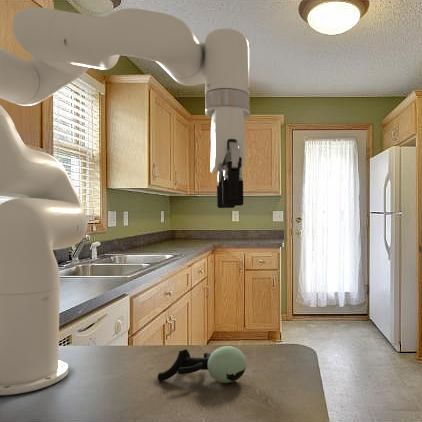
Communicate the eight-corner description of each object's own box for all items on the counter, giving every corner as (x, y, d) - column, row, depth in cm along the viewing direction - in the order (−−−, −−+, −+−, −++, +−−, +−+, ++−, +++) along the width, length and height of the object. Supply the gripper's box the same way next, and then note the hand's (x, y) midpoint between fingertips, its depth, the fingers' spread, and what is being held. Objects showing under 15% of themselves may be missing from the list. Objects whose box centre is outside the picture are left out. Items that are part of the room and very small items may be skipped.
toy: (153, 389, 65) (236, 392, 61) (152, 353, 65) (234, 354, 61) (183, 370, 74) (256, 371, 70) (181, 338, 74) (254, 338, 71)
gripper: (202, 118, 73) (203, 208, 72) (208, 88, 56) (210, 204, 56) (241, 120, 75) (243, 208, 74) (259, 91, 58) (261, 204, 58)
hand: (229, 206), depth 65 cm, fingers open, 9 cm apart
